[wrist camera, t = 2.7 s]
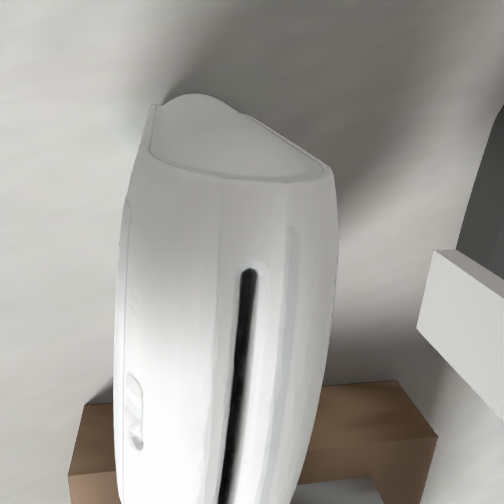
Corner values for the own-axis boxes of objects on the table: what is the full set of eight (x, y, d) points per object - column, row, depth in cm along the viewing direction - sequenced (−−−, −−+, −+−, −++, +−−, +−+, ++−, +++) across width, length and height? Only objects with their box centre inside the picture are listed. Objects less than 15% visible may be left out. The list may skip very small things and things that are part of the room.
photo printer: (230, 329, 21) (309, 635, 10) (136, 328, 20) (101, 666, 9) (256, 99, 17) (433, 161, 6) (142, 86, 16) (93, 130, 5)
